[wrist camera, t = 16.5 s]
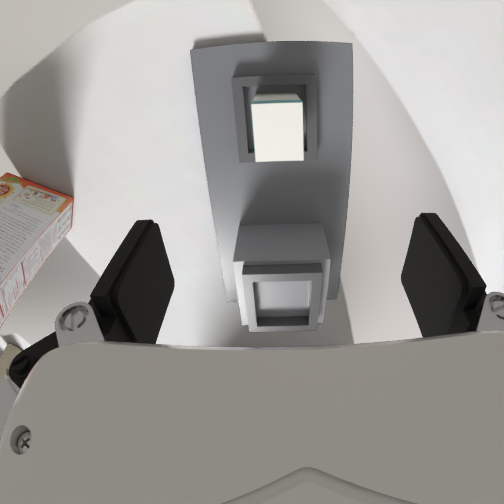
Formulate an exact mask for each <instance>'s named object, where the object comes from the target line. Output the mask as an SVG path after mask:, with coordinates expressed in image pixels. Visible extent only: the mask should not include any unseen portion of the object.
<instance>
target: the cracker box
mask: <svg viewBox="0 0 504 504" xmlns="http://www.w3.org/2000/svg"><path fill="white" fill-rule="evenodd" d="M72 209H73V198H72V197H70V196H67V195H65V194H62V193H59V192H57V191H54V190H51V189H49V188H46V187H44V186H41V185H38V184H36V183H33V182H31V181H28V180H25V179H23V178H20V177H18V176H15V175H13V174H10V173H6V174H4V175H3V176H1V177H0V327H1V326H2V324H3V323H4V321H5V320H6V318H7V316H8V315H9V313H10V311H11V310H12V308H13V307H14V305H15V304H16V302H17V301H18V299H19V298H20V296H21V294H22V293H23V292H24V290H25V289H26V287H27V286H28V284H29V283H30V281H31V280H32V278H33V277H34V276H35V274H36V273H37V271H38V270H39V269H40V267H41V266H42V265H43V263H44V262H45V261H46V259H47V258H48V256H49V255H50V254H51V253H52V251H53V250H54V249H55V248H56V246H57V245H58V244H59V243H60V241H61V240H62V239H63V238H64V236H65V235H66V234H67V233H68V231H69V230H70V229H71V225H72Z"/></svg>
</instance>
